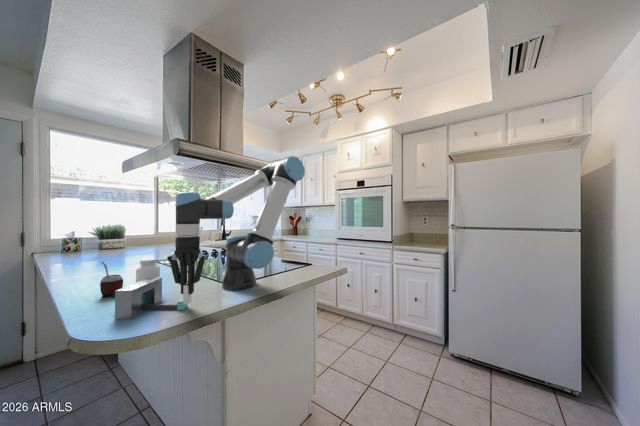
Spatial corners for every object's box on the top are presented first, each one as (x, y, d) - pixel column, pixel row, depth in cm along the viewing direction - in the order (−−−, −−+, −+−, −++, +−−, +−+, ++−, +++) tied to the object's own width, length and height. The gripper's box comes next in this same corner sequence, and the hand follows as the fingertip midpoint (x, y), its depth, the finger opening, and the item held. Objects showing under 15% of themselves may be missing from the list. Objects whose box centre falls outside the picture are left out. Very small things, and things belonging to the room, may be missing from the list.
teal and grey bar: (188, 305, 87) (188, 291, 87) (181, 311, 82) (181, 296, 82) (128, 307, 86) (128, 293, 86) (117, 312, 81) (117, 298, 81)
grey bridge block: (161, 301, 92) (162, 277, 92) (131, 319, 76) (131, 290, 76) (148, 301, 91) (148, 277, 91) (114, 319, 75) (115, 290, 75)
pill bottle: (150, 299, 93) (150, 261, 93) (130, 299, 93) (130, 261, 93) (164, 293, 101) (164, 257, 101) (145, 293, 101) (145, 257, 101)
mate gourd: (120, 291, 103) (120, 256, 103) (125, 295, 98) (125, 259, 98) (97, 296, 97) (97, 259, 97) (100, 300, 92) (101, 261, 92)
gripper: (210, 235, 89) (210, 298, 88) (174, 235, 88) (173, 299, 88) (202, 236, 81) (201, 306, 81) (162, 237, 80) (161, 307, 80)
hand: (187, 302), depth 84 cm, fingers closed
